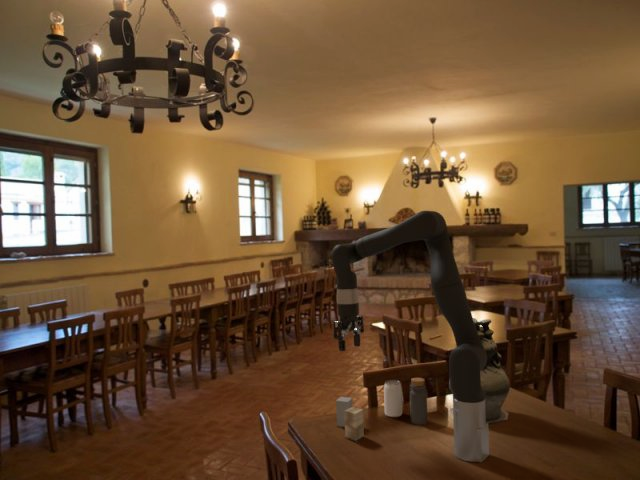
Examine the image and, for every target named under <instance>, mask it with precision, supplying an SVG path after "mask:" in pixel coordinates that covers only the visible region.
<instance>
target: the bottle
mask: <svg viewBox="0 0 640 480" xmlns="http://www.w3.org/2000/svg"><path fill="white" fill-rule="evenodd" d="M410 379H411V383H410V388H411V389H410V391H409V404H410V405H409V409H410V411H409V413H410V423H412V424H413V425H422V426H423V425H425V424H427V423H428V398H427V397H428V396H427V395H428V392H427V391H426V390H425V389H426V383H425V378H423V377H413V378H410Z"/></svg>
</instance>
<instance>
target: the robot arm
mask: <svg viewBox="0 0 640 480" xmlns="http://www.w3.org/2000/svg"><path fill="white" fill-rule="evenodd" d="M415 241H424V242H425V245H426V248H427V251H428V254H429V259H430V285H431V290H432V293H433V295H434V299H435V302H436V305H437V308H438V309H439V311H440V312H441V314H442V316H443V317H444V318H445V320H446V322H447V323H448V324H449V326H450V328H451V330H452V333H453V337H454V341H455V345H456V346H457V348H455V347H454V348H453V349H452V351H451V352H450V353H449V358H448V359H449V360H448V369H449V371H448V372H449V379H450V386H451V389H452V392H453V394H452V403H453V404H452V406H453V407H452V408H453V442H454V446H453V448H454V450H453V451H454V455H455V457H456V458H458V459H460V460H462V461H466V462H478V463H483V462H484V461H485V460H486V459H487V458H488V457H489V456H490V440H489V439H490V434H489V423H486V415H485V391H484V389H483V388H482V387H481V378H480V371H481V370H482V369H483V368H484V367H485V365H486V363H487V355H486V352H485V349H484V346H483V344H482V342H481V340H480V337H479V335H478V332H477V330H476V327H475V325H474V321H473V318H474V317H473V315H472V311H471V308H470V305H469V301H468V297H467V293H466V290H465V286H464V283H463V280H462V277H461V274H460V272H459V268H458V265H457V262H456V259H455V256H454V254H453V250H452V246H451V242H450V236H449V231H448V226H447V222H446V219H445V217H444V216H443V215H442V214H441V213H440V212H437V211H435V210H421V211H419V212H416V213H415V214H413V215H411V216H410V217H408V218H406V219H405V220H403V221H401V222H399V223H397V224H395V225H393V226H391V227H388V228H387V227H386V228H385V229H382V230H379V231H375V232H373V233H370V234H368V235H365V236H362V237H360V238H359V239H357V240H356V241H352V242H350V243H342V244H340V243H339V244H336V245H335V246H334V247H333V248H332V251H331V264H332V266H333V270H334V273H335V276H336V311H337V312H336V313H337V316H338V317H339V320H337V321H336V320H334V321H333V338H334V340H338V341H337V342H338V350H339V351H340V352H345V351H346V337H347V335H348V334H349V333H350V332H351V333H352V334H353V346H354V347H361V335H362V334H363V333H364V332H365V326H364V317H363V315H360V305H359V303H360V302H359V291H358V290H359V289H358V281H357V280H358V278H357V277H358V276H357V274H356V272H355V271H353V270H352V268H351V264H355V263H357V262H359V261H363V260H364V259H366V258H371V257H373V256H376V255H379V254H381V253H385V252H387V251H388V250H390V249H393V248H394V247H397V246H399V245H401V244H405V243H409V242H415ZM452 392H451V393H452Z"/></svg>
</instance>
